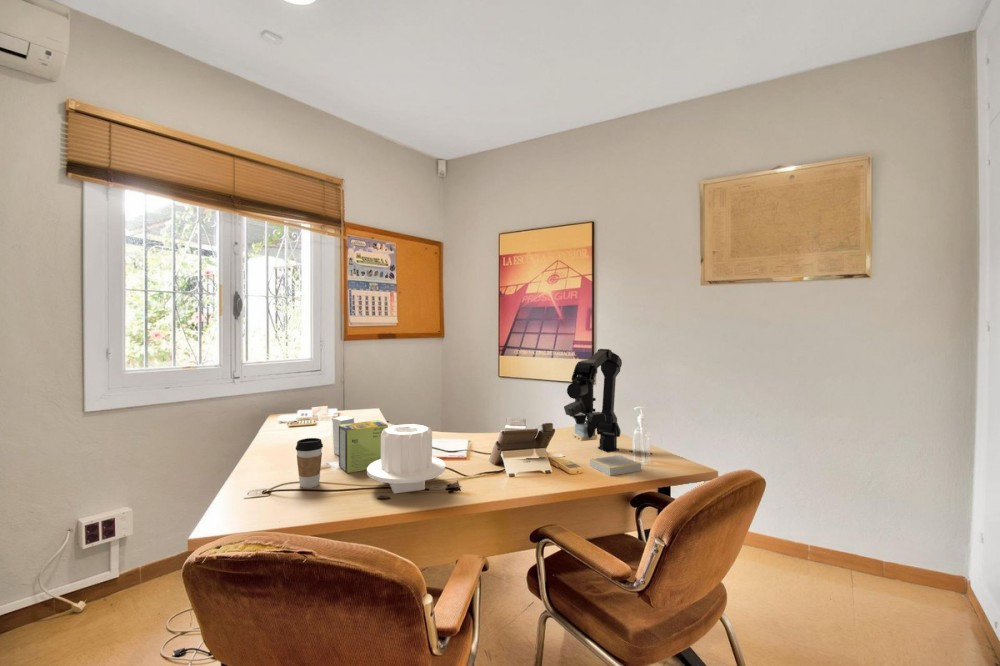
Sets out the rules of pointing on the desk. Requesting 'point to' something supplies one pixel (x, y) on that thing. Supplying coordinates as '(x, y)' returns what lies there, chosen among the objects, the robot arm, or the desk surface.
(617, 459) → the block
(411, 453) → the flanged gear
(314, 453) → the coffee cup
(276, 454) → the desk surface
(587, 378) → the robot arm
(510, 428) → the ink cartridge box
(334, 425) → the skincare box
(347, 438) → the protein box
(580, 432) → the pallet
